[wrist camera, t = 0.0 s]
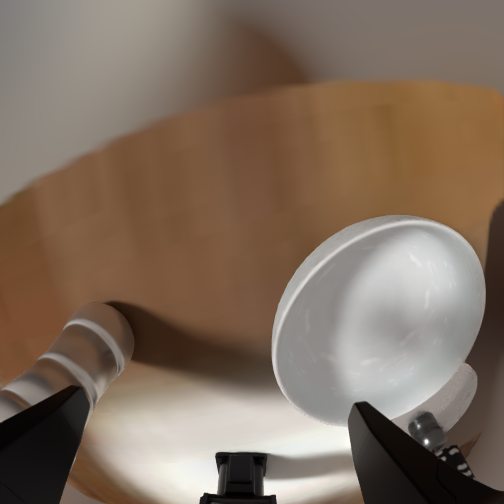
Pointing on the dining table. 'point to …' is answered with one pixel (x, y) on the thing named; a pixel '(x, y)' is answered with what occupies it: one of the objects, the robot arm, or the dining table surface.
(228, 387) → the dining table surface
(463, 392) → the steel lid
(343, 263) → the cereal bowl
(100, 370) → the plastic bottle
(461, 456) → the white-spotted black cylinder
